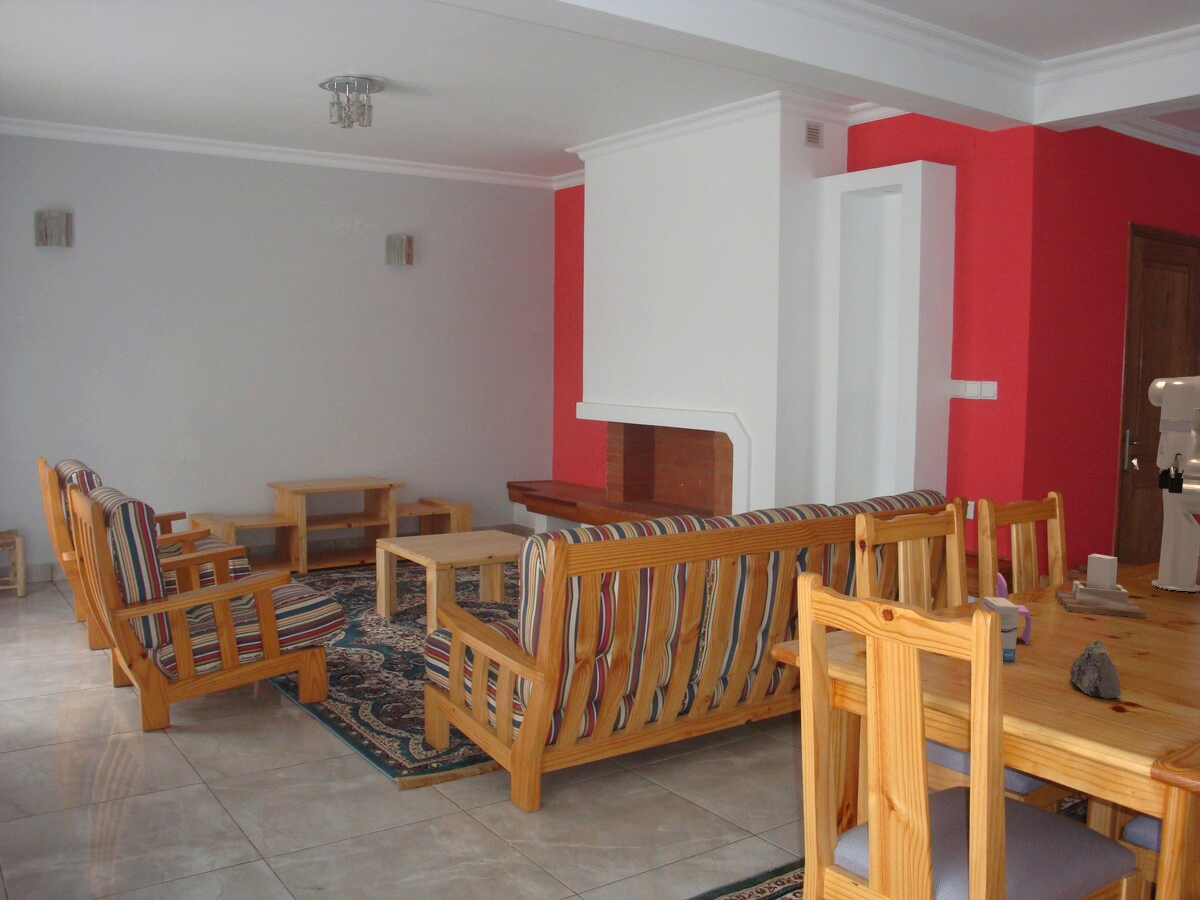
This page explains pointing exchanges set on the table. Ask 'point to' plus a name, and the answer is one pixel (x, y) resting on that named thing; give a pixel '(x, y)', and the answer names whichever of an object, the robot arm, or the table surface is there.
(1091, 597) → the collar plate
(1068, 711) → the table surface
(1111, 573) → the skincare box
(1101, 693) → the mineral rock
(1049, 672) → the table surface
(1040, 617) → the table surface
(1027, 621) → the toy chair
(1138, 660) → the table surface
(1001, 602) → the ink box
